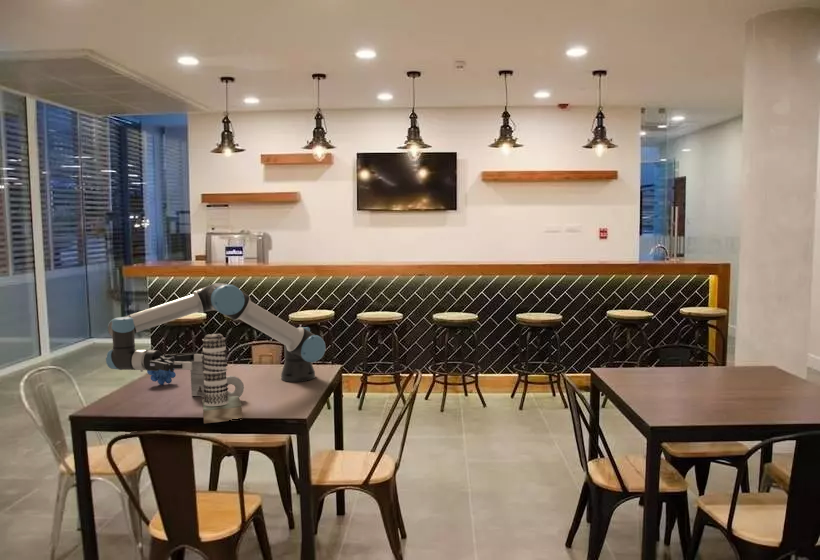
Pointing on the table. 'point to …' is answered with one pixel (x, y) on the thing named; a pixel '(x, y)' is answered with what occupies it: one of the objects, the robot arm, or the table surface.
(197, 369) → the coffee box
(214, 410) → the riser
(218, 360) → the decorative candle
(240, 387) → the donut
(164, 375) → the blue lobed piece
